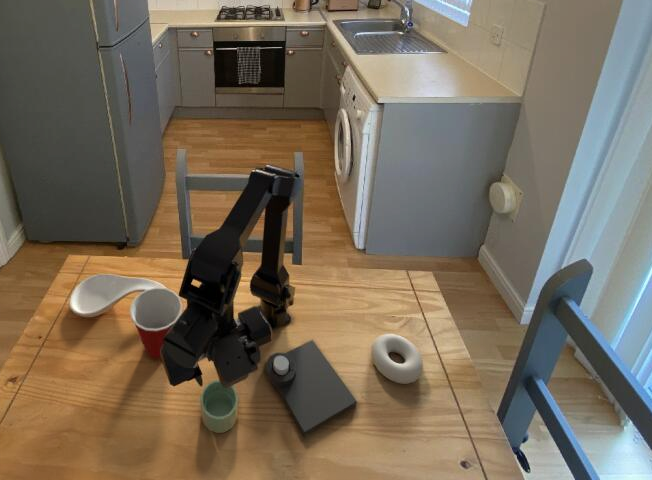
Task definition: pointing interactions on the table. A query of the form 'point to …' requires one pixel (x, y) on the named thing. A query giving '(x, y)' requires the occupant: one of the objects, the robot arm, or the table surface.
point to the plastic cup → (155, 317)
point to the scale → (310, 387)
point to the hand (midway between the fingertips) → (218, 375)
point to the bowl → (219, 407)
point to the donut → (391, 369)
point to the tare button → (281, 365)
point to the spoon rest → (105, 293)
